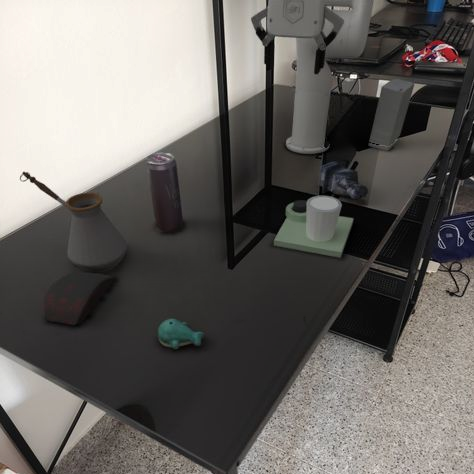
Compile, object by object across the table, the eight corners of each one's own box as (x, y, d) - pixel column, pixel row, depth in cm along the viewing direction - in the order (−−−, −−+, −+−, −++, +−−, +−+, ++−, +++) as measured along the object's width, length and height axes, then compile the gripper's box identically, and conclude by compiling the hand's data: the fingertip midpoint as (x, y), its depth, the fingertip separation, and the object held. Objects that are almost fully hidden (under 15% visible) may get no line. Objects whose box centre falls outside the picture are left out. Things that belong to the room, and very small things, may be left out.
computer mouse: (41, 320, 74) (33, 302, 71) (80, 274, 83) (74, 256, 81) (83, 328, 73) (76, 310, 70) (118, 280, 82) (114, 262, 79)
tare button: (295, 205, 96) (295, 198, 95) (309, 207, 95) (309, 201, 94) (291, 212, 94) (291, 205, 93) (305, 214, 93) (306, 208, 92)
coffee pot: (141, 254, 88) (126, 183, 77) (102, 284, 81) (79, 211, 70) (67, 228, 96) (44, 159, 85) (26, 253, 89) (-5, 182, 78)
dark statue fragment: (358, 209, 100) (363, 182, 95) (314, 190, 106) (317, 164, 102) (374, 200, 103) (380, 173, 98) (330, 182, 109) (334, 156, 105)
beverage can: (172, 216, 98) (163, 149, 88) (188, 226, 95) (181, 157, 85) (151, 226, 96) (139, 158, 85) (167, 236, 93) (157, 166, 82)
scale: (289, 212, 99) (290, 200, 97) (353, 222, 95) (355, 210, 93) (271, 245, 90) (271, 232, 87) (340, 258, 86) (343, 245, 84)
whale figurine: (167, 325, 73) (164, 308, 70) (208, 332, 72) (206, 315, 69) (153, 349, 69) (150, 332, 66) (197, 357, 68) (195, 340, 65)
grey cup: (335, 245, 87) (341, 213, 82) (301, 241, 88) (305, 209, 83) (337, 227, 91) (342, 196, 86) (304, 224, 92) (308, 193, 87)
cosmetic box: (378, 137, 130) (391, 77, 118) (401, 142, 127) (416, 81, 115) (366, 146, 125) (378, 84, 114) (390, 152, 122) (405, 89, 111)
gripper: (245, -45, 72) (245, 73, 85) (348, -43, 68) (333, 79, 81) (258, -50, 77) (257, 62, 90) (355, -49, 73) (340, 68, 86)
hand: (293, 70), depth 85 cm, fingers open, 9 cm apart
